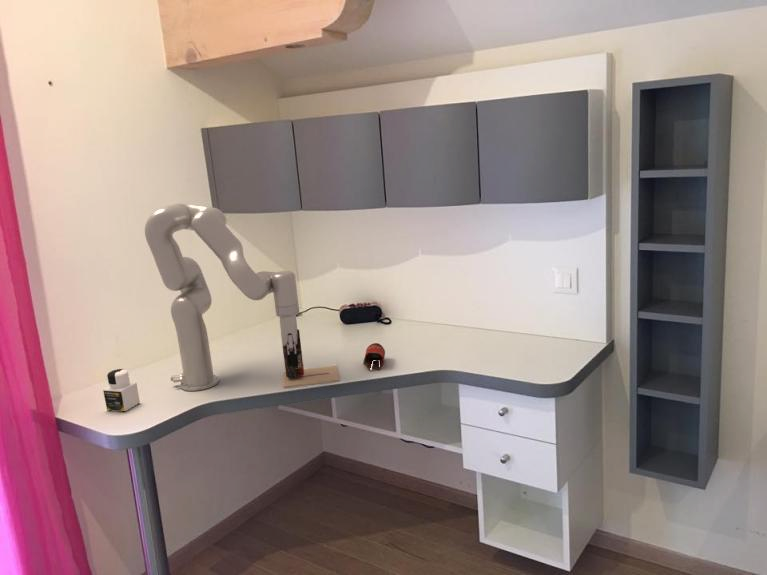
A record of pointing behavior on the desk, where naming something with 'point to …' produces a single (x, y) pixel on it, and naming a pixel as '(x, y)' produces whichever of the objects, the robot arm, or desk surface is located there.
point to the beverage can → (374, 355)
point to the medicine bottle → (120, 391)
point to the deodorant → (298, 370)
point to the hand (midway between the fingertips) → (293, 361)
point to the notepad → (313, 377)
